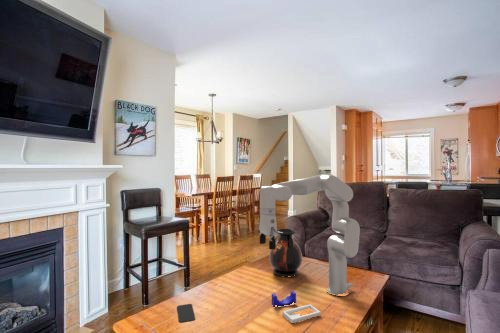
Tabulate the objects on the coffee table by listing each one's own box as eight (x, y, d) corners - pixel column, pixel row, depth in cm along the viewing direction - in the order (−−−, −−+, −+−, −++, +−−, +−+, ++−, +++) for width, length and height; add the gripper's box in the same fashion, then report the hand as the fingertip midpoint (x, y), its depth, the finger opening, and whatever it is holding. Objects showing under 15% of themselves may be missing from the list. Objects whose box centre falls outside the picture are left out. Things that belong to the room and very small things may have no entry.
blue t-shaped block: (292, 301, 146) (292, 289, 146) (296, 305, 142) (296, 293, 141) (270, 304, 143) (270, 292, 143) (273, 308, 138) (273, 296, 138)
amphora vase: (264, 269, 190) (264, 228, 190) (293, 265, 196) (293, 226, 196) (276, 281, 169) (277, 235, 169) (308, 277, 176) (308, 233, 176)
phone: (178, 322, 125) (176, 305, 139) (178, 324, 125) (176, 307, 139) (195, 319, 127) (191, 303, 141) (195, 321, 127) (191, 305, 141)
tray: (310, 308, 138) (310, 304, 138) (320, 316, 131) (320, 311, 131) (282, 315, 131) (282, 311, 131) (292, 324, 124) (292, 319, 124)
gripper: (283, 213, 131) (283, 250, 131) (266, 208, 146) (265, 241, 146) (269, 214, 127) (269, 252, 127) (253, 209, 143) (252, 242, 143)
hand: (267, 246), depth 137 cm, fingers open, 9 cm apart
